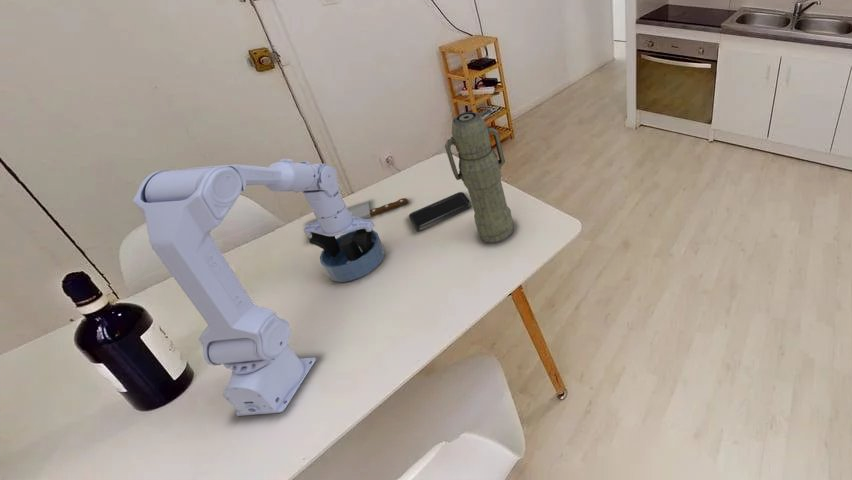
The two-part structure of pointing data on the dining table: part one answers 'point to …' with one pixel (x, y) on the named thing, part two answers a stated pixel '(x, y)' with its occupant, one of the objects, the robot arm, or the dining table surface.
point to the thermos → (481, 175)
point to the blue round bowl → (356, 268)
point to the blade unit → (351, 249)
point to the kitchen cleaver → (365, 212)
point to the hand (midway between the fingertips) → (352, 252)
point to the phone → (439, 211)
